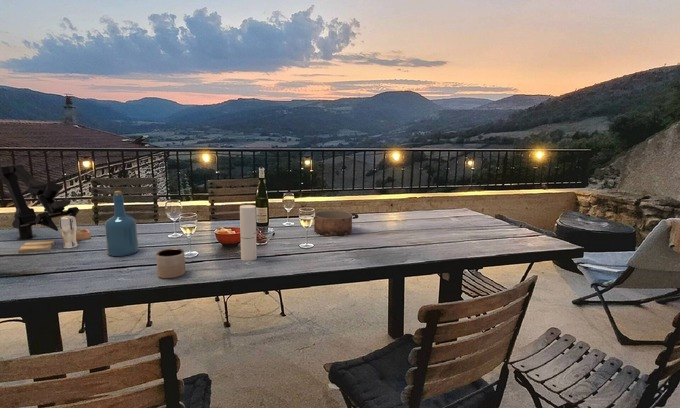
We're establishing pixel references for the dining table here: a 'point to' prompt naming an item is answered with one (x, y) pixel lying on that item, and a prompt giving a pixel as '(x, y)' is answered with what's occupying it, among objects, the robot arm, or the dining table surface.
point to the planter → (170, 263)
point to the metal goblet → (68, 231)
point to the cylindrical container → (248, 232)
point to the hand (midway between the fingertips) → (67, 228)
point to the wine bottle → (121, 230)
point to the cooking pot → (333, 222)
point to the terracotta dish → (83, 234)
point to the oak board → (36, 246)
